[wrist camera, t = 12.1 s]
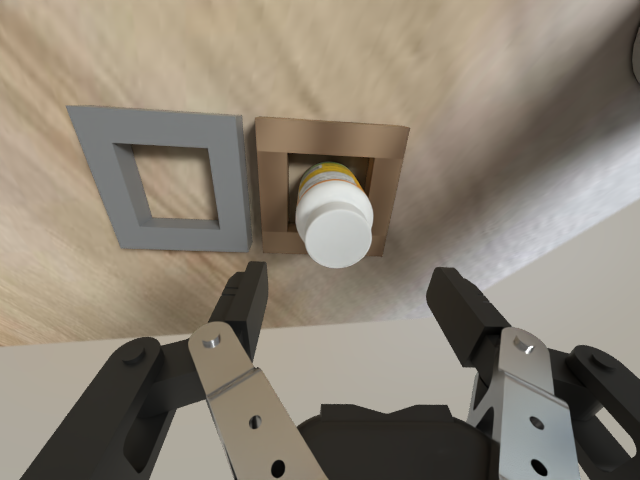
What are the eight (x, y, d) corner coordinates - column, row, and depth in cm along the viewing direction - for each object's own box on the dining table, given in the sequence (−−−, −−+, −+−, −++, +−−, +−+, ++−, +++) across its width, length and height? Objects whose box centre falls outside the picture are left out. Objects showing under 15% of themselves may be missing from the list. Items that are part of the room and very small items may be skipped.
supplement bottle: (350, 219, 24) (371, 282, 16) (296, 213, 24) (288, 274, 15) (362, 164, 22) (396, 204, 13) (302, 156, 21) (297, 191, 13)
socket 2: (401, 125, 20) (410, 127, 19) (377, 246, 26) (382, 256, 24) (259, 116, 20) (254, 117, 18) (266, 242, 25) (263, 252, 24)
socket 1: (242, 115, 20) (235, 116, 18) (252, 241, 25) (248, 252, 23) (88, 105, 19) (65, 105, 17) (134, 237, 24) (120, 248, 23)
